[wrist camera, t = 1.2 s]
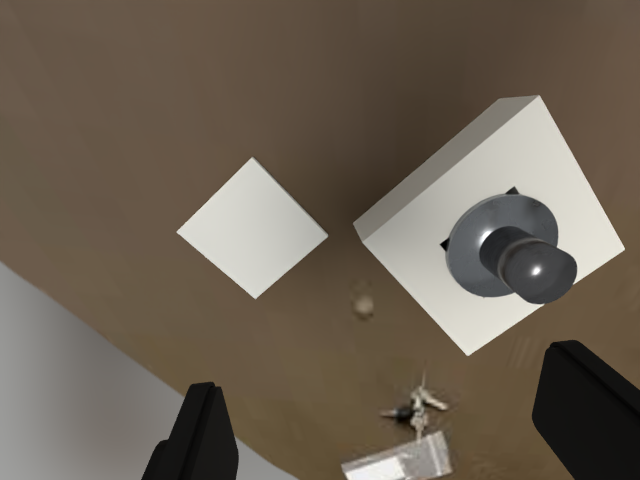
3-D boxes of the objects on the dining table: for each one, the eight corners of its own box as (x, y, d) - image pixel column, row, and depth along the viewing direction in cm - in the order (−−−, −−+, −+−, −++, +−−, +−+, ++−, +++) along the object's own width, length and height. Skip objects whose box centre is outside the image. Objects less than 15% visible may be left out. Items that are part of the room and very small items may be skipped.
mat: (253, 156, 34) (252, 157, 33) (327, 233, 38) (328, 236, 37) (178, 229, 36) (176, 231, 36) (256, 295, 40) (255, 298, 39)
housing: (499, 98, 33) (539, 95, 28) (579, 230, 40) (625, 249, 34) (352, 223, 37) (362, 242, 32) (446, 325, 44) (467, 356, 38)
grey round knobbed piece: (487, 161, 35) (580, 184, 24) (533, 230, 39) (634, 280, 27) (407, 226, 37) (456, 276, 26) (457, 285, 41) (520, 354, 29)
